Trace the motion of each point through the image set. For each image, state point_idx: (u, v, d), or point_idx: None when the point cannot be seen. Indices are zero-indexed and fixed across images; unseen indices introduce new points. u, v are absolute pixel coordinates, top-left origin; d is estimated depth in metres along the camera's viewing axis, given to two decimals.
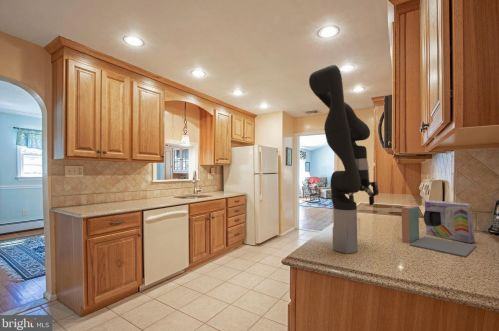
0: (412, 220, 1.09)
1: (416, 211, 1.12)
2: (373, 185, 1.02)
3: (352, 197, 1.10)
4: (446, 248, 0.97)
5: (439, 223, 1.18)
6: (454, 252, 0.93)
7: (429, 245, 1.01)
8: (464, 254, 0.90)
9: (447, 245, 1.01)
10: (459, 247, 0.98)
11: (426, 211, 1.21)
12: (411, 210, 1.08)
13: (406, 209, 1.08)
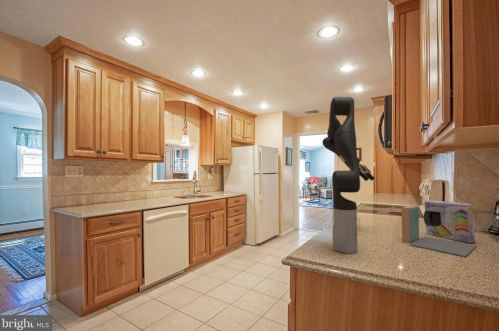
0: (412, 220, 1.09)
1: (416, 211, 1.12)
2: (365, 166, 1.35)
3: None
4: (446, 248, 0.97)
5: (439, 223, 1.18)
6: (454, 252, 0.93)
7: (429, 245, 1.01)
8: (464, 254, 0.90)
9: (447, 245, 1.01)
10: (459, 247, 0.98)
11: (426, 211, 1.21)
12: (411, 210, 1.08)
13: (406, 209, 1.08)
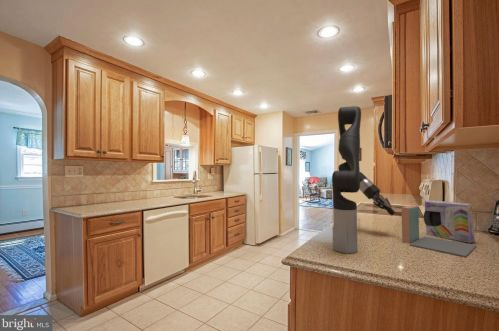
0: (412, 220, 1.09)
1: (416, 211, 1.12)
2: (387, 199, 1.25)
3: None
4: (446, 248, 0.97)
5: (439, 223, 1.18)
6: (454, 252, 0.93)
7: (429, 245, 1.01)
8: (464, 254, 0.90)
9: (447, 245, 1.01)
10: (459, 247, 0.98)
11: (426, 211, 1.21)
12: (411, 210, 1.08)
13: (406, 209, 1.08)
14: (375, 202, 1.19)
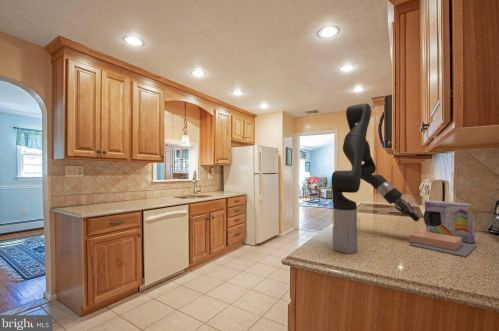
0: None
1: None
2: (409, 204, 1.16)
3: None
4: None
5: (439, 223, 1.18)
6: (454, 252, 0.93)
7: None
8: (464, 254, 0.90)
9: None
10: (459, 247, 0.98)
11: (426, 211, 1.21)
12: None
13: (452, 247, 0.95)
14: (398, 207, 1.11)
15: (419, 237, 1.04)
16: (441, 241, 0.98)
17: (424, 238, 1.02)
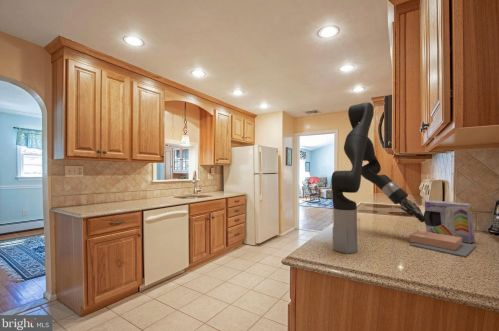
0: None
1: None
2: (415, 204, 1.14)
3: None
4: None
5: (439, 223, 1.18)
6: (454, 252, 0.93)
7: None
8: (464, 254, 0.90)
9: None
10: (459, 247, 0.98)
11: (426, 211, 1.21)
12: None
13: (452, 247, 0.95)
14: (404, 208, 1.09)
15: (419, 237, 1.04)
16: (441, 241, 0.98)
17: (424, 238, 1.02)
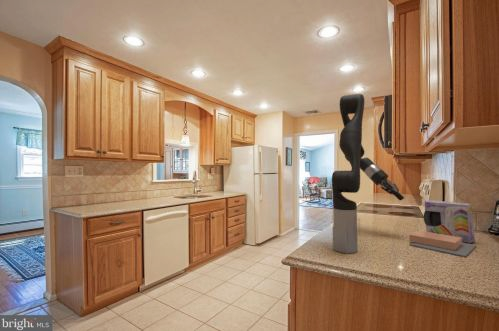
0: None
1: None
2: (395, 185, 1.21)
3: None
4: None
5: (439, 223, 1.18)
6: (454, 252, 0.93)
7: None
8: (464, 254, 0.90)
9: None
10: (459, 247, 0.98)
11: (426, 211, 1.21)
12: None
13: (452, 247, 0.95)
14: (383, 187, 1.16)
15: (419, 237, 1.04)
16: (441, 241, 0.98)
17: (424, 238, 1.02)
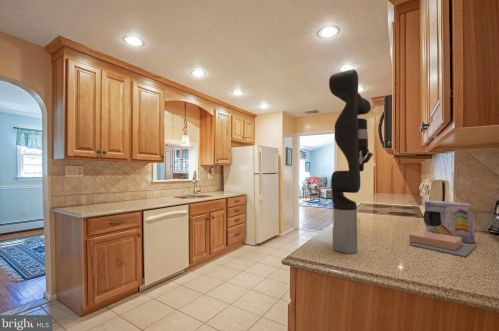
0: None
1: None
2: (368, 155, 1.20)
3: None
4: None
5: (439, 223, 1.18)
6: (454, 252, 0.93)
7: None
8: (464, 254, 0.90)
9: None
10: (459, 247, 0.98)
11: (426, 211, 1.21)
12: None
13: (452, 247, 0.95)
14: None
15: (419, 237, 1.04)
16: (441, 241, 0.98)
17: (424, 238, 1.02)
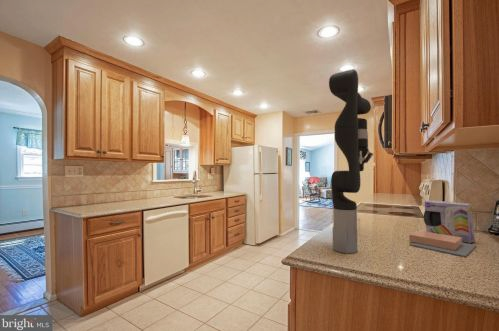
0: None
1: None
2: (368, 155, 1.20)
3: None
4: None
5: (439, 223, 1.18)
6: (454, 252, 0.93)
7: None
8: (464, 254, 0.90)
9: None
10: (459, 247, 0.98)
11: (426, 211, 1.21)
12: None
13: (452, 247, 0.95)
14: None
15: (419, 237, 1.04)
16: (441, 241, 0.98)
17: (424, 238, 1.02)
